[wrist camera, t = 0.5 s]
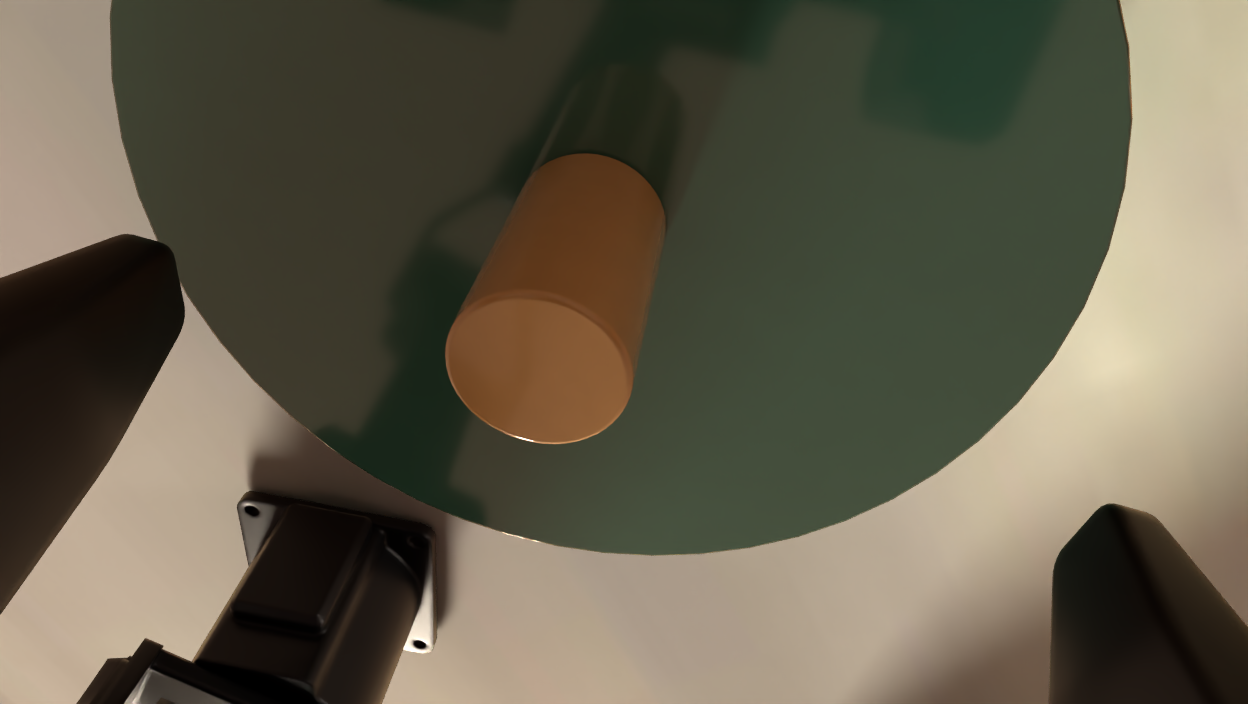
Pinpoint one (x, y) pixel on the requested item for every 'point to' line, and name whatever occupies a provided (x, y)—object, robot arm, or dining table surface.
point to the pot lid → (634, 238)
